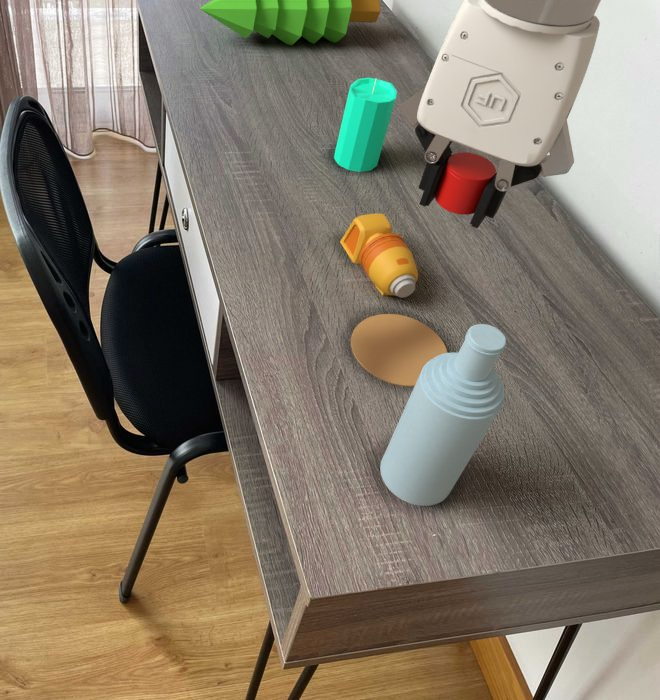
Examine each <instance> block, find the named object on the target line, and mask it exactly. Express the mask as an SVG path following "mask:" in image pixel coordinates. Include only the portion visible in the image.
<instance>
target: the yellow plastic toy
mask: <svg viewBox="0 0 660 700" xmlns="http://www.w3.org/2000/svg"><path fill="white" fill-rule="evenodd" d="M339 244H341V245H342V247H343V249H344V251H345V252H346V254H347V255H348V257H349V259H350V260H351V263H353V264H357V265H360V266H361V268H362V269H363V270H364V273H365V274H366V276H367V277H368V278H369V280H370V281H371V282H372V284H373V286H374V287H375V288H376V289H377V290H378V292H379V293H380V294H381V296H387V297H388V296H394V297H395V296H396V297H398V298H407V297H409V296H411V295H412V294H413V293H414V291H416V283H417V281H418V278H419V271H418V268H417V265H416V261H415V258H414V255H413V253H412V250H410V248H409V246H408V245H407V244H406V242H405V239H404V238H403V237H402V236H401V235H400V234H398V233H395V232H393V227H392V225H391V223H390V221H389V220H388V218H387V217H386V216H385V214H384V213H377V212H376V213H367V214H361V215H359V216H356V217H355V218H354V219H353V220H352V221H351V223H350V225H349V227H348V228H347V230H346V231H345V232H344V235H343V236H342V238H341V239H340V241H339Z"/></svg>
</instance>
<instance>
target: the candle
mask: <svg viewBox="0 0 660 700" xmlns="http://www.w3.org/2000/svg"><path fill="white" fill-rule="evenodd" d="M397 92H398V90H397V89H396V88H395V86H394V85H393V83H392V82H389V81H386V80H382V79H379V78H378V77H375V78H373V77H363V78H357V79H356V80H355V81H353V83H351V84H350V86H349V90H348V94H347V99H346V102H345V107H344V111H343V116H342V120H341V125H340V128H339V133H338V137H337V142H336V147H335V150H334V155H333V159H334V160H335V162H336V163H337V165H338V166H340V167H342V168H344V169H345V170H347V171H351V172H352V171H353V172H357V173H363V172H370V171H373V170H374V169H375V168H377V166H378V164H379V161H380V158H381V157H380V156H381V153H382V150H383V146H384V142H385V139H386V135H387V132H388V128H389V125H390V121H391V117H392V113H393V110H394V106H395V103H396V100H397Z"/></svg>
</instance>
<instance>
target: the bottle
mask: <svg viewBox="0 0 660 700" xmlns="http://www.w3.org/2000/svg"><path fill="white" fill-rule="evenodd" d="M464 338H465V339H464V341H463V343H462V345H461V347H460V349H459V351H457V352H448V353H444V354H441V355H438V356H436V357H434V358H433V359H431V360H430V361H428V362H427V363H426V364H425V365H424V367H423V368H422V371H421V373H420V375H419V377H418V380H417V382H416V384H415V386H414V387H413V388H412V391H411V393H410V396H409V398H408V400H407V403H406V404H405V407H404V409H403V411H402V413H401V415H400V418H399V420H398V422H397V425H396V427H395V428H394V431H393V434H392V436H391V438H390V440H389V443H388V445H387V447H386V449H385V452H384V453H383V455H382V458H381V461H380V466H379V467H380V475H381V478H382V481H383V483H384V485H385V486H386V487H387V489H388V490H389V491H390V492H391V493H392V494H393V495H395V496H396V497H397V498H398V499H400V500H402V501H403V502H406V503H408V504H411V505H415V506H420V507H421V506H422V507H429V506H434V505H438V504H440V503H441V502H443V501H445V500H446V499H447V498H448V496H449V495H450V493H451V492H452V490H453V488H454V487H455V485H456V483H457V482H458V481H459V479H460V477H461V475H462V473H463V472H464V470H465V469H466V467H467V465H468V463H470V460H471V459H472V457H473V455H474V454H475V452H476V451H477V449H478V447H479V445H480V444H481V442H482V441H483V439H484V437H485V436H486V434H487V433H488V431H489V429H490V427H491V426H492V424H493V422H494V421H495V419H496V417H497V416H498V414H499V412H500V411H501V409H502V407H503V405H504V402H505V387H504V383H503V381H502V379H501V377H500V375H499V374H498V373H497V371H496V370H495V369H494V367H495V364H496V363H497V361H498V359H499V357H500V356H501V354H502V353H503V352H504V351H505V349H506V347H507V340H506V336H505V334H504V333H503V332H502V331H501V330H500V329H499V328H497V327H495V326H494V325H490V324H488V323H487V324H486V323H478V324H473V325H471V326H470V327H469V328H468V330H467V332H466V333H465V337H464Z"/></svg>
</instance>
